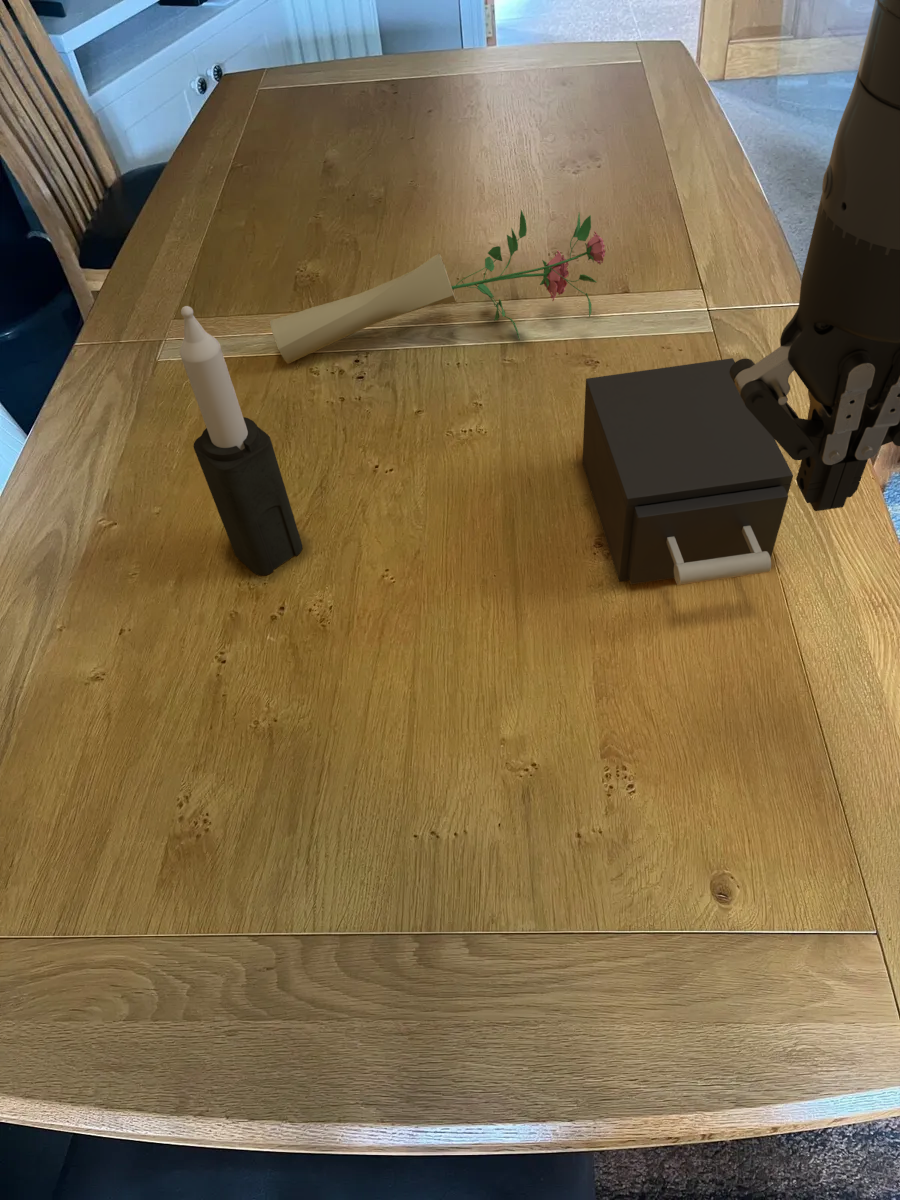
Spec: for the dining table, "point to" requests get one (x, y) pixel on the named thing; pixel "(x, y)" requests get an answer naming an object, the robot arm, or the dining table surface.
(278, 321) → the flower vase
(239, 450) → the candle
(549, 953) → the dining table surface
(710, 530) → the drawer
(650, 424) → the cabinet
